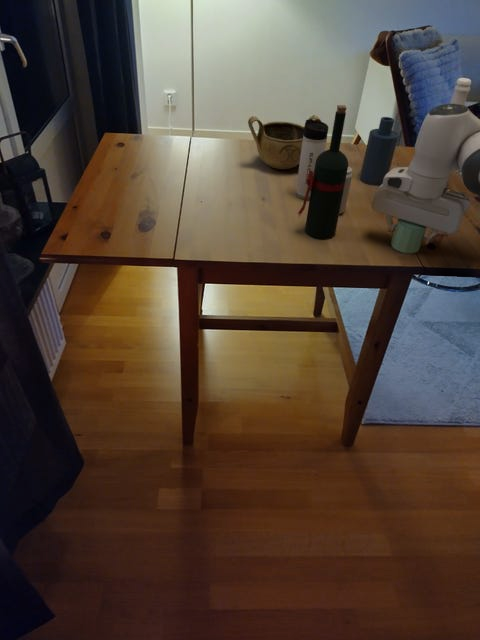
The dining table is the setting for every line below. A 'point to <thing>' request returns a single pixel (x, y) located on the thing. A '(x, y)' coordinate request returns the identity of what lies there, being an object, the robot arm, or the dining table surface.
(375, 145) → the water bottle
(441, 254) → the dining table surface
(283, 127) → the ceramic bowl
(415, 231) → the paper cup
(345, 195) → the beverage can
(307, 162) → the travel mug
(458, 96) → the bottle
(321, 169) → the wine bottle
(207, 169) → the dining table surface
